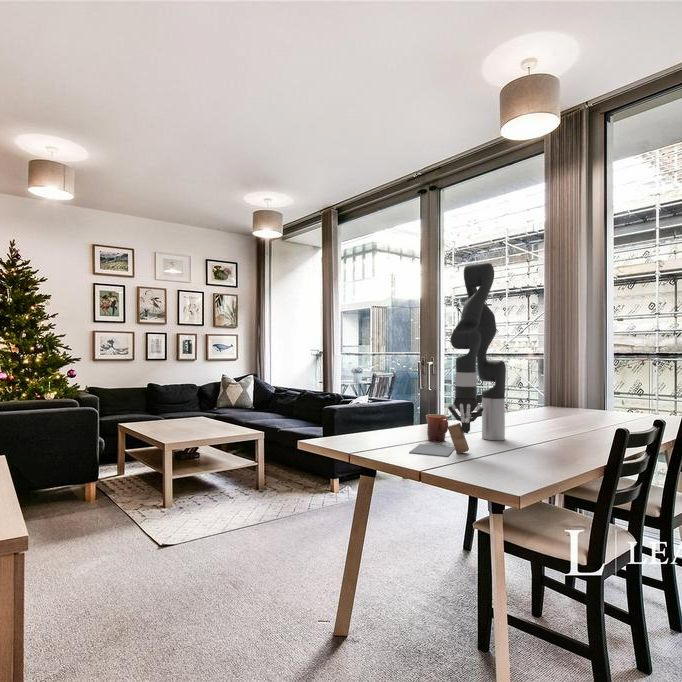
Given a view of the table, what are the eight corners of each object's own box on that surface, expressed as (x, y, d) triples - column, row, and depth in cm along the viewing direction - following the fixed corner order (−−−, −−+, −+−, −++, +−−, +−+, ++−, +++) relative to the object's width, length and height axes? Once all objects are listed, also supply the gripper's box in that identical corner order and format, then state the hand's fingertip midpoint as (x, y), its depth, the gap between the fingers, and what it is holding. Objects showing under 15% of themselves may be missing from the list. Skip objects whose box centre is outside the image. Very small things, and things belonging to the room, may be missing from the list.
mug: (421, 439, 195) (421, 414, 195) (439, 437, 199) (439, 413, 199) (437, 444, 184) (437, 418, 184) (456, 443, 187) (456, 417, 188)
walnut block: (458, 451, 171) (449, 425, 173) (469, 449, 170) (460, 422, 171) (456, 454, 168) (447, 427, 169) (467, 451, 166) (458, 424, 168)
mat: (419, 444, 183) (419, 443, 183) (456, 448, 178) (456, 447, 178) (409, 453, 169) (409, 452, 169) (447, 456, 163) (447, 455, 163)
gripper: (485, 384, 170) (486, 432, 169) (449, 383, 175) (449, 429, 174) (483, 386, 163) (483, 436, 162) (445, 384, 168) (445, 433, 168)
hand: (465, 432), depth 168 cm, fingers closed
